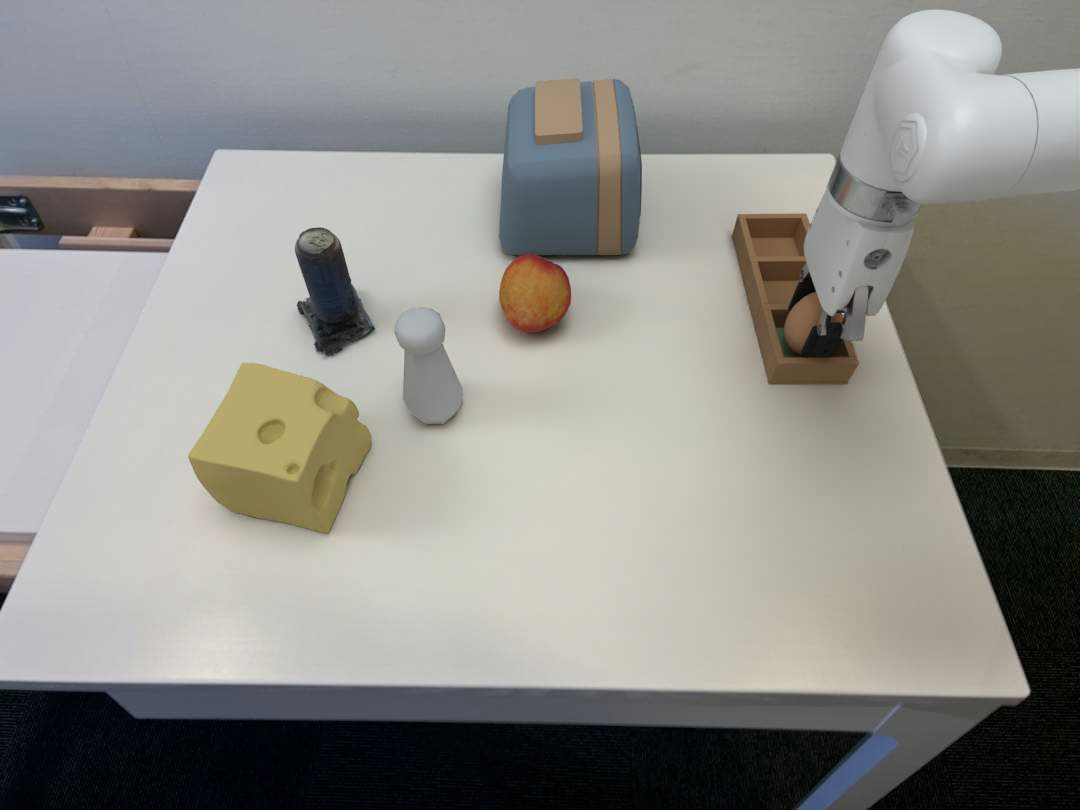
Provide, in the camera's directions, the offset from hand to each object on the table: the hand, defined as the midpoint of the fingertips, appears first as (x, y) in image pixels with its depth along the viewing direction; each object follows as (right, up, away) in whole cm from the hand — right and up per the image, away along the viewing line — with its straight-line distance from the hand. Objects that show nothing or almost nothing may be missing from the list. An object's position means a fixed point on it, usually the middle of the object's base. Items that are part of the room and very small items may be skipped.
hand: (810, 331), depth 71 cm
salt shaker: (-38, -8, -1) cm, 39 cm away
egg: (0, -2, +2) cm, 3 cm away
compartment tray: (0, +4, +7) cm, 8 cm away
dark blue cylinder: (-50, +2, +6) cm, 50 cm away
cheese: (-50, -15, -5) cm, 52 cm away
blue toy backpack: (-24, +16, +16) cm, 33 cm away
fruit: (-28, +2, +6) cm, 29 cm away
